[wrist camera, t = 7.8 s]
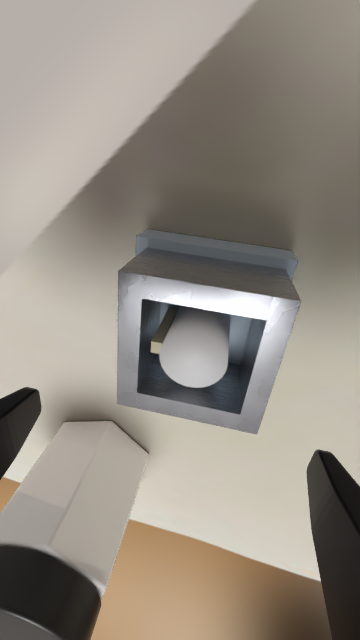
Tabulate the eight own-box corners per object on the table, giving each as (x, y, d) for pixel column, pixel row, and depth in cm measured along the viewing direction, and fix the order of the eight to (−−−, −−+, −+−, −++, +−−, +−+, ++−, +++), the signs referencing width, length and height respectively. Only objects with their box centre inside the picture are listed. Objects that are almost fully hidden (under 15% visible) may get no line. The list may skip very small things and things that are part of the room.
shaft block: (291, 250, 16) (317, 290, 10) (257, 369, 19) (263, 443, 14) (147, 229, 17) (104, 255, 11) (140, 347, 20) (106, 408, 15)
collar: (253, 381, 18) (257, 434, 14) (140, 359, 18) (116, 403, 15) (285, 269, 14) (301, 301, 11) (146, 247, 15) (118, 270, 12)
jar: (65, 401, 24) (-69, 579, 14) (158, 437, 24) (94, 643, 14) (54, 465, 28) (-54, 638, 18) (133, 495, 28) (70, 687, 18)
